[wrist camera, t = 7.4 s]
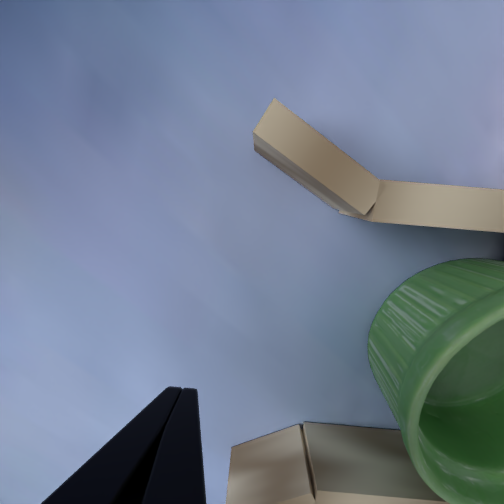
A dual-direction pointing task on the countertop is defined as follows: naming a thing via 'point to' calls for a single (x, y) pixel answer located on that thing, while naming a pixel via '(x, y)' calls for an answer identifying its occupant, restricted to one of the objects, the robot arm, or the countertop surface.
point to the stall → (339, 436)
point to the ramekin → (447, 375)
